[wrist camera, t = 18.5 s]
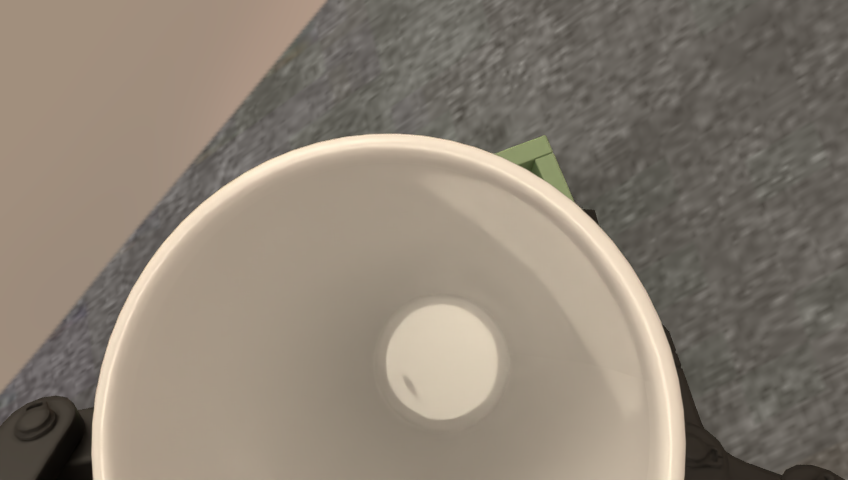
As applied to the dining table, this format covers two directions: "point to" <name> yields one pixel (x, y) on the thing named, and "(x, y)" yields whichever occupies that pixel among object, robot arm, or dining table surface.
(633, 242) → the dining table surface
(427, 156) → the drinking glass
